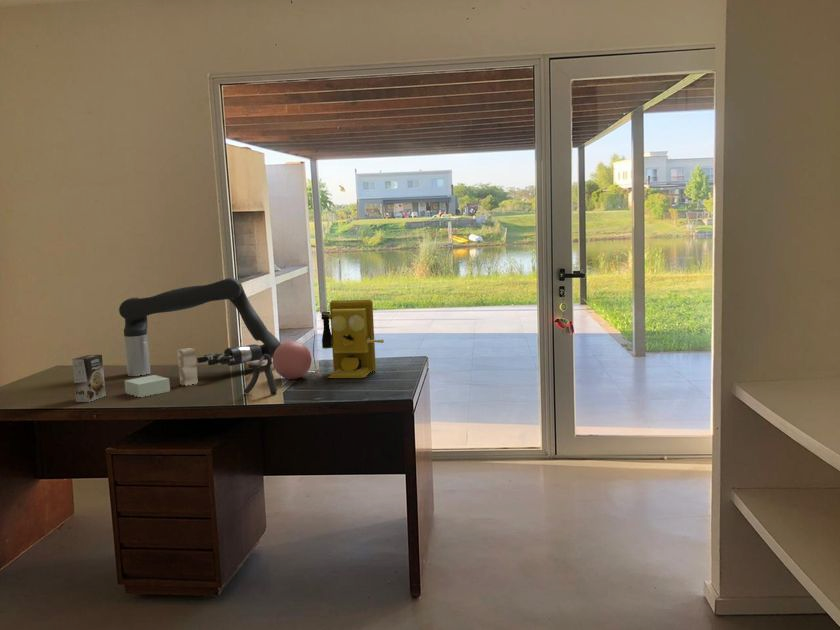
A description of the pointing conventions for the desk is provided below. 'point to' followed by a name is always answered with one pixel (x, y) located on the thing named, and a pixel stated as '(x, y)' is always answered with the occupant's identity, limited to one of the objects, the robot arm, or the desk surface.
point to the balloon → (292, 360)
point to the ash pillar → (187, 366)
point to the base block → (147, 386)
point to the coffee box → (88, 378)
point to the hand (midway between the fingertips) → (203, 361)
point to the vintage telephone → (350, 338)
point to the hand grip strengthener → (267, 372)
